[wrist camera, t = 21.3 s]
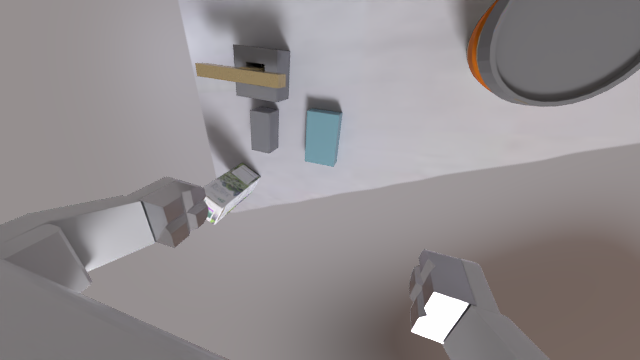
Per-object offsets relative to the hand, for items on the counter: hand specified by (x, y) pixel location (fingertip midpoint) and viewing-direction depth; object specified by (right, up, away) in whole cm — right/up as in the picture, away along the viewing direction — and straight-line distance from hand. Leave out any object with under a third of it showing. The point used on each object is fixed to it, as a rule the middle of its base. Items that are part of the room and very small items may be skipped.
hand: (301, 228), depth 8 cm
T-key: (-9, +22, +35) cm, 42 cm away
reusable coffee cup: (+26, +21, +23) cm, 41 cm away
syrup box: (-17, +3, +48) cm, 51 cm away
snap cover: (+2, +11, +37) cm, 39 cm away
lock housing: (-9, +18, +37) cm, 42 cm away
